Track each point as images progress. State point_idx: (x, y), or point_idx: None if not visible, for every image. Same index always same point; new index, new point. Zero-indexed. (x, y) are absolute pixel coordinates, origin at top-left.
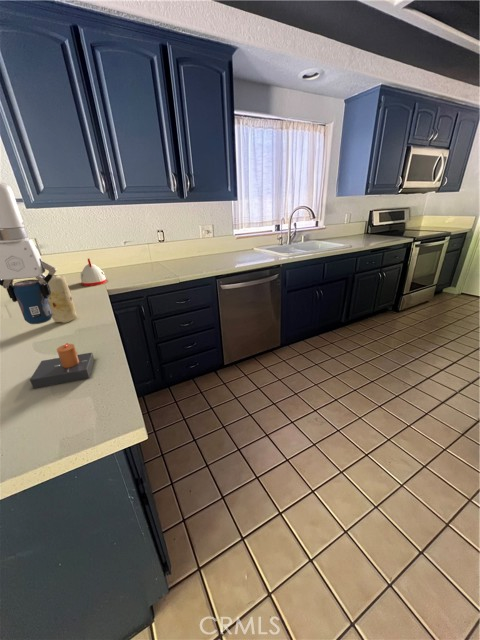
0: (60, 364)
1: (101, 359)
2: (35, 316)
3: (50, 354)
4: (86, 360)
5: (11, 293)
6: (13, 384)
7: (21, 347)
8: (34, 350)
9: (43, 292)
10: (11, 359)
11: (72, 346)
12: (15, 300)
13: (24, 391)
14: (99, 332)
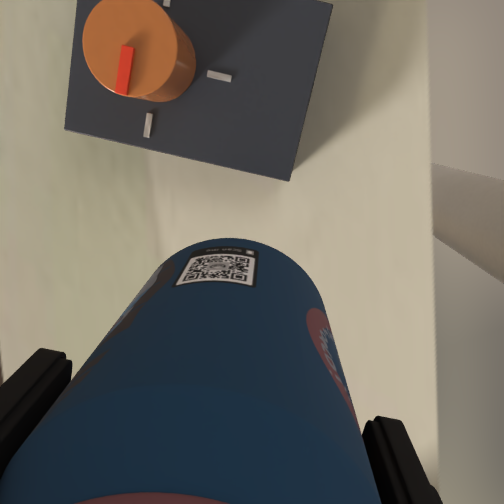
0: (205, 84)
1: (53, 118)
2: (234, 250)
3: None
4: None
5: (417, 497)
6: (400, 109)
7: None
8: None
9: (20, 396)
10: (414, 346)
11: (91, 36)
12: (375, 423)
13: (359, 15)
14: None
